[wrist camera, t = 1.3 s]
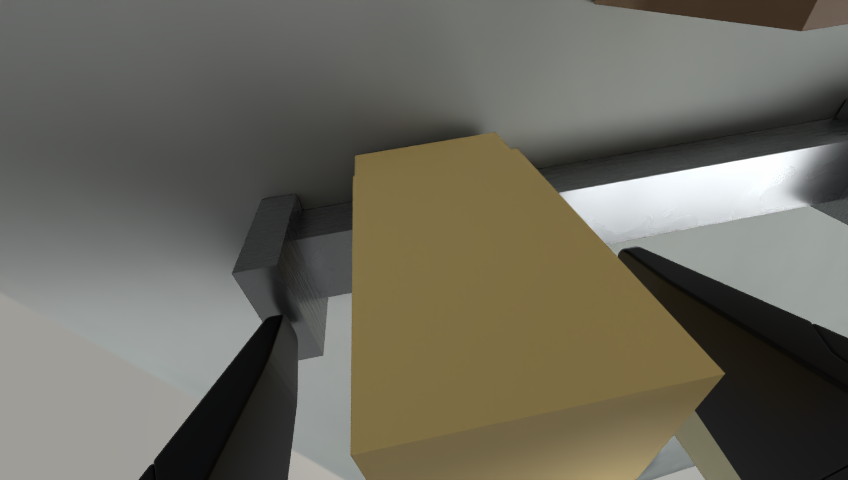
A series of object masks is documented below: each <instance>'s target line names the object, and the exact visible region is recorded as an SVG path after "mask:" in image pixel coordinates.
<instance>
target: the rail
mask: <svg viewBox="0 0 848 480" xmlns="http://www.w3.org/2000/svg"><path fill="white" fill-rule="evenodd" d="M537 170H538V171H539V172H540V174H541V175H542V176H543V177H544V178H545V179H546V180H547V181H548V182H549V183H550V184H551V185H552V187H553V188H554V189H555V190H556V191H557V192H558V193H559V194H560V195H561V196H562V197H563V198H564V200H565V201H566V202H567V203H568V204H569V205H570V206H571V207H572V208H573V209H574V210H575V211H576V213H577V214H578V215H579V216H580V217H581V218H582V219H583V220H584V221H585V222H586V223H587V224H588V226H589V227H590V228H591V229H592V230H593V231H594V232H595V233H596V234H597V235H598V236H599V237H600V239H601V240H602V241H603V242H604V243H605V244H610V243H615V242H621V241H626V240H631V239H636V238H642V237H647V236H652V235H657V234H663V233H668V232H673V231H679V230H684V229H689V228H694V227H700V226H705V225H710V224H715V223H721V222H726V221H731V220H736V219H742V218H747V217H752V216H757V215H763V214H768V213H773V212H778V211H784V210H789V209H794V208H800V207H805V206H812V207H814V208H815V209H817V210H819V211H821V212H823V213H825V214H827V215H829V216H831V217H833V218H835V219H837V220H839V221H841V222H843V223H845V224H847V225H848V99H847V100H846V102H845V103H844V105H843V106H842V108H841V109H840V111H839V112H838V114H837V115H836V117H835V118H829V119H823V120H817V121H812V122H806V123H800V124H794V125H789V126H783V127H777V128H772V129H766V130H760V131H754V132H749V133H743V134H737V135H731V136H726V137H720V138H714V139H709V140H703V141H697V142H691V143H686V144H680V145H674V146H668V147H663V148H657V149H651V150H646V151H640V152H634V153H628V154H623V155H617V156H611V157H606V158H600V159H594V160H588V161H583V162H577V163H571V164H565V165H560V166H554V167H548V168H543V169H537ZM352 238H353V202H348V203H342V204H336V205H331V206H325V207H319V208H314V209H308V210H302V208H301V205H300V203H299V200H298V198H297V195H296V194H292V195H286V196H280V197H274V198H268V199H262V201H261V203H260V206H259V208H258V211H257V213H256V215H255V218H254V220H253V223H252V225H251V228H250V230H249V233H248V235H247V238H246V240H245V242H244V245H243V247H242V250H241V252H240V255H239V257H238V260H237V262H236V264H235V267H234V269H233V272H232V275H233V276H234V278H235V279H236V281H237V283H238V284H239V286H240V287H241V289H242V290H243V292H244V293H245V295H246V297H247V298H248V300H249V301H250V303H251V304H252V306H253V308H254V309H255V311H256V312H257V314H258V315H259V317H260V318H261V320H262V322H264V320H265V319H266V318H268V317H270V316H275V315H280V314H284V315H286V316H287V318H288V320H289V321H290V323H291V325H292V327H293V329H294V330H295V332H296V334H297V338H298V360H303V359H308V358H313V357H318V356H323V352H324V340H325V328H326V315H327V303H328V297H331V296H336V295H342V294H347V293H352Z"/></svg>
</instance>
